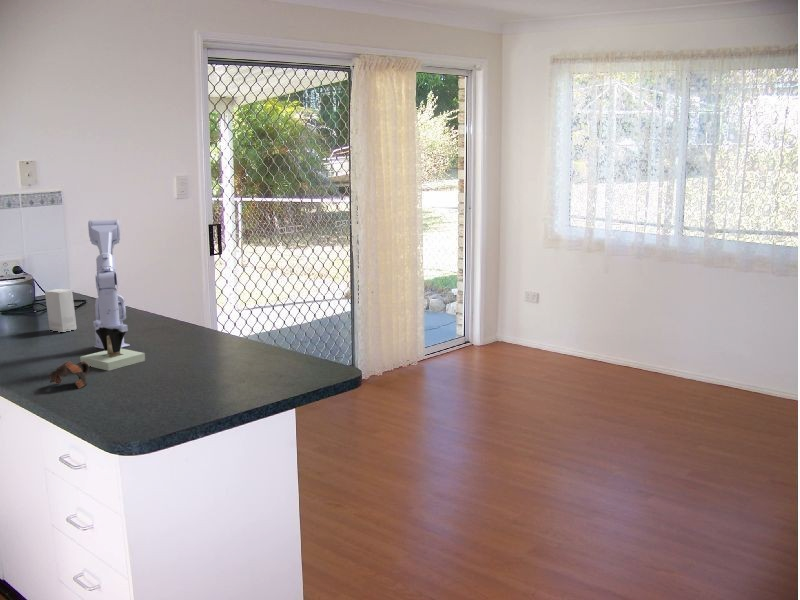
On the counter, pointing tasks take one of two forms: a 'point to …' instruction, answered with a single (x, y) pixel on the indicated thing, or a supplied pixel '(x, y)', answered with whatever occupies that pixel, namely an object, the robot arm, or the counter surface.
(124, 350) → the sage board
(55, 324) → the skincare box
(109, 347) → the beech peg
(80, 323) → the counter surface
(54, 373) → the brown arch piece
